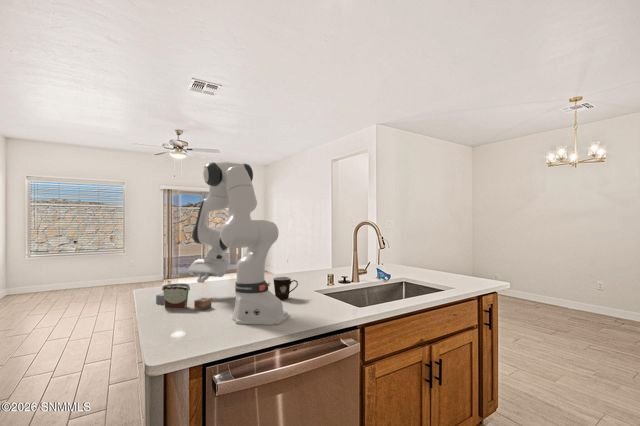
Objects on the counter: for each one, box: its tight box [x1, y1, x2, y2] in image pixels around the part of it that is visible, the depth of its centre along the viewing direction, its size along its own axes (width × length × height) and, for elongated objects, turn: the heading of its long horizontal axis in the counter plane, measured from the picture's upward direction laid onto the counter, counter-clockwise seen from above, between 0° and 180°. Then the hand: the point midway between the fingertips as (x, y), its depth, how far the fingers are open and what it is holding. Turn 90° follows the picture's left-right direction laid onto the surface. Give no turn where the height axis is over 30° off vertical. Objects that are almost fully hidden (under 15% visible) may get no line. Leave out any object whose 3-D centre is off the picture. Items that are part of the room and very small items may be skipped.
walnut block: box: [193, 297, 212, 311], centre depth 135 cm, size 5×5×4 cm
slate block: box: [155, 293, 165, 305], centre depth 145 cm, size 5×5×4 cm
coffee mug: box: [273, 276, 299, 301], centre depth 151 cm, size 12×9×10 cm
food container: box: [161, 282, 191, 310], centre depth 137 cm, size 12×6×10 cm, turn 84°
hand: (200, 282), depth 151 cm, fingers closed
